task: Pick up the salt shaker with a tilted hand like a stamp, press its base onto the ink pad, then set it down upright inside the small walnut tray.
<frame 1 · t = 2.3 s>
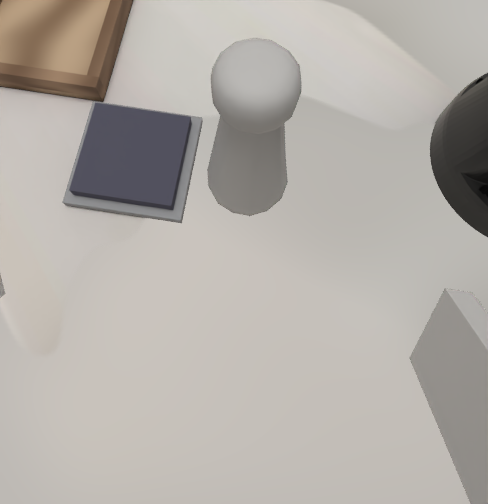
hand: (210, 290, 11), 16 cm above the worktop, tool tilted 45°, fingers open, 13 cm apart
tray: (53, 33, 32), on the worktop
salt shaker: (246, 191, 29), on the worktop
ink pad: (136, 162, 29), on the worktop
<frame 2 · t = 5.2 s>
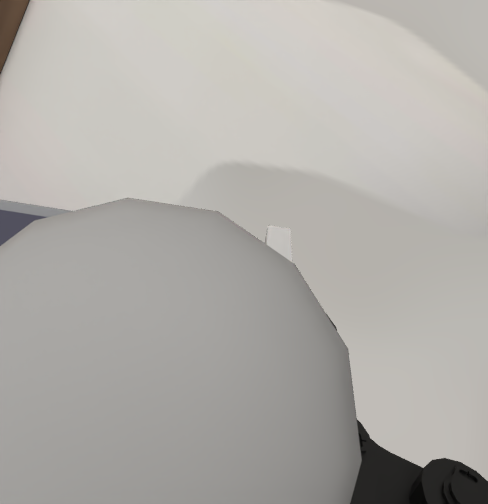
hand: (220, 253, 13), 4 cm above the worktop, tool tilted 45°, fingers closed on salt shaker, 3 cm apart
salt shaker: (209, 364, 15), on the worktop, touching gripper
ink pad: (4, 306, 15), on the worktop
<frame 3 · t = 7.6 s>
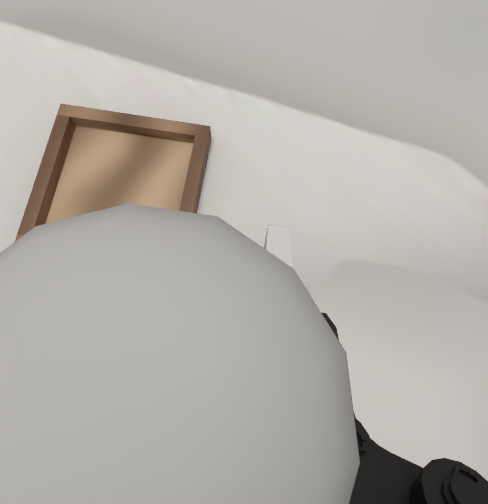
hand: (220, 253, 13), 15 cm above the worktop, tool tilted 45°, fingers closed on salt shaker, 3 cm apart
tray: (123, 193, 29), on the worktop
salt shaker: (209, 365, 15), point 11 cm above the worktop, touching gripper
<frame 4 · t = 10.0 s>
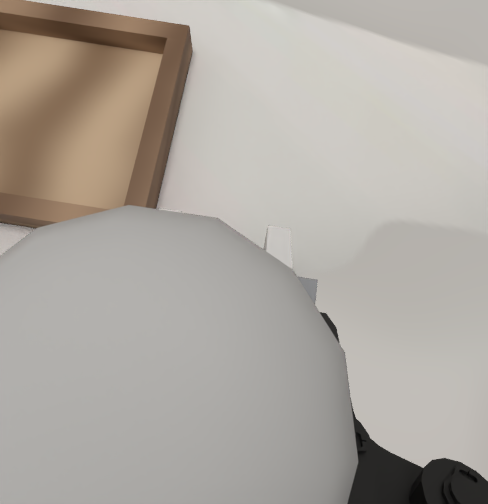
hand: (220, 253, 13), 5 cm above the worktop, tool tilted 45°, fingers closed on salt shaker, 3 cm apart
tray: (62, 123, 20), on the worktop
salt shaker: (209, 365, 15), point 1 cm above the worktop, touching gripper
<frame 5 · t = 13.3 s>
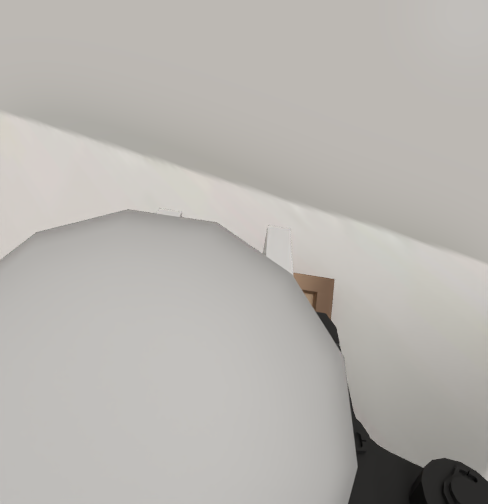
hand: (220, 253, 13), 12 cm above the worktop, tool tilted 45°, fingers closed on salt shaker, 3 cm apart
tray: (227, 359, 23), on the worktop
salt shaker: (209, 366, 15), point 8 cm above the worktop, touching gripper
when the fingers open (4 cm above the worktop, at t = 15.2 s): salt shaker stays where it is, resting on tray.
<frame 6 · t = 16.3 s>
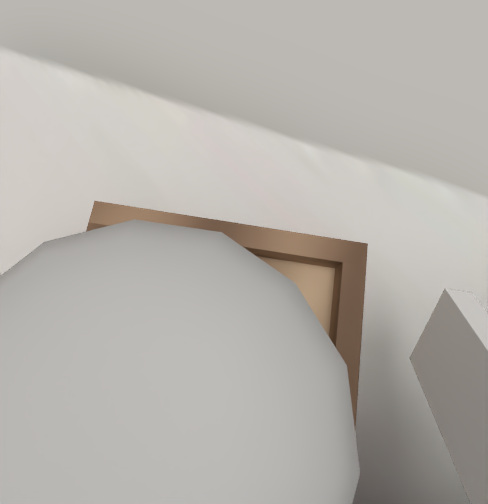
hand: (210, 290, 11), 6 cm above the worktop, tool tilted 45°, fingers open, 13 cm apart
tray: (208, 363, 16), on the worktop
salt shaker: (210, 367, 15), resting on tray
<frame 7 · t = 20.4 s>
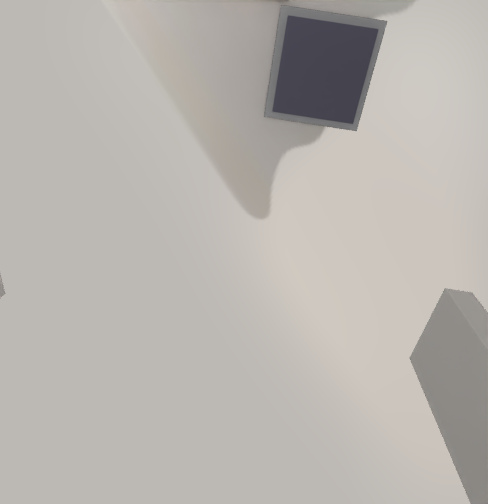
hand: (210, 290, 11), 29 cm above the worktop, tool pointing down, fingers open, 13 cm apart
ink pad: (320, 71, 33), on the worktop
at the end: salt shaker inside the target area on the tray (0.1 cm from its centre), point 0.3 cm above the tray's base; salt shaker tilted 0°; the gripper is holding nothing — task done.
